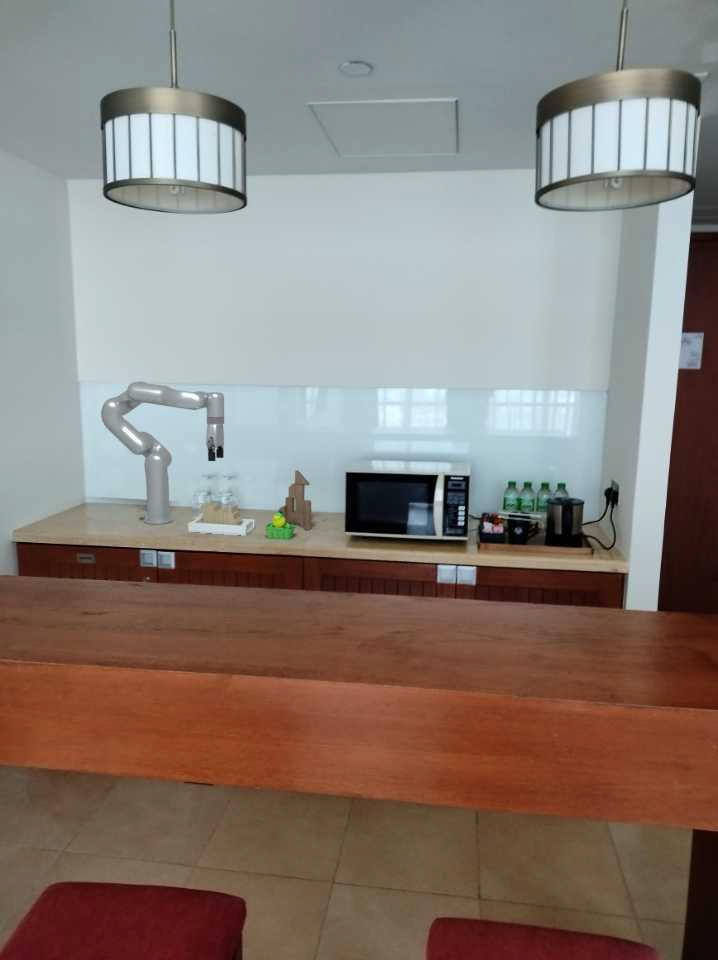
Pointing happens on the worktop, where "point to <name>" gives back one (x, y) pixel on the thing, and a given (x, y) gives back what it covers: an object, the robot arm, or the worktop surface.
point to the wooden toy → (297, 503)
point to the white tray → (222, 527)
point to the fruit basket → (279, 528)
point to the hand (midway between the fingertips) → (215, 459)
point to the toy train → (221, 514)
